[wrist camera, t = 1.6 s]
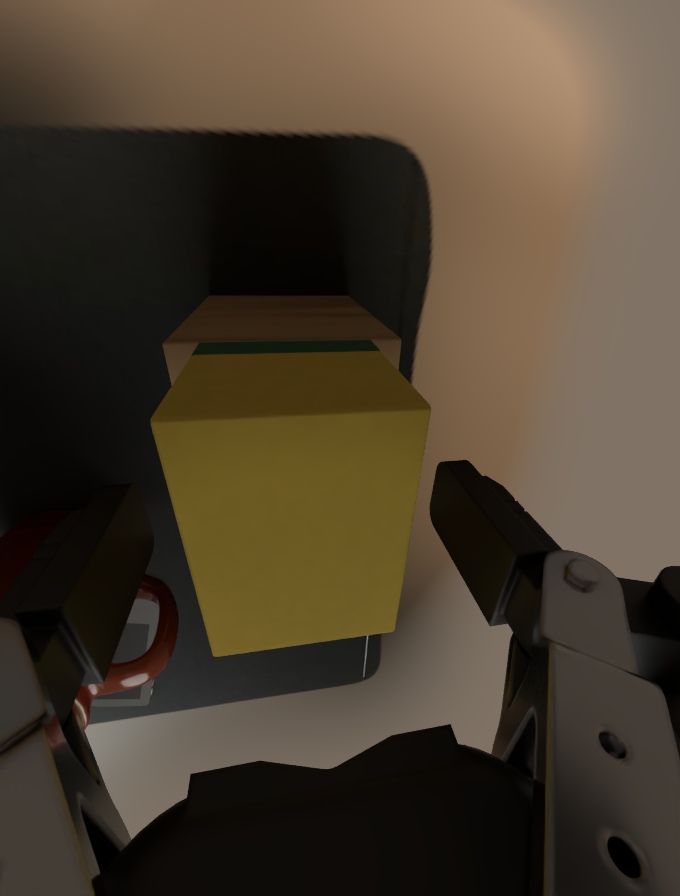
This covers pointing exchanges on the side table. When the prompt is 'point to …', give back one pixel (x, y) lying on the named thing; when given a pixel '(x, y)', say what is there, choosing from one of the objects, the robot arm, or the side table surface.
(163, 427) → the sponge
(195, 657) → the side table surface
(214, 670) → the side table surface
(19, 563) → the mug
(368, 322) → the tall wooden block
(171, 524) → the side table surface
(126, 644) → the smartphone
